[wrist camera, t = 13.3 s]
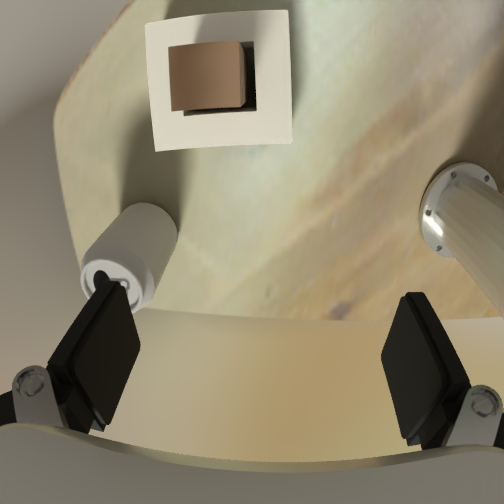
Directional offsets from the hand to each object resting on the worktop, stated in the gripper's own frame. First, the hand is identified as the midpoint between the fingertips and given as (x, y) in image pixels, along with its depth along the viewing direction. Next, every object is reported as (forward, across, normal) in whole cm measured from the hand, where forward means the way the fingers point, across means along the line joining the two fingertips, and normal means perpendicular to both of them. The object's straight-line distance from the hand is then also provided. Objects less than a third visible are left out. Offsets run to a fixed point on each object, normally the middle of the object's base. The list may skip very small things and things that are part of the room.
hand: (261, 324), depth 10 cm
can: (+24, +14, +8) cm, 29 cm away
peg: (+24, +4, -8) cm, 26 cm away
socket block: (+24, +4, -8) cm, 26 cm away
